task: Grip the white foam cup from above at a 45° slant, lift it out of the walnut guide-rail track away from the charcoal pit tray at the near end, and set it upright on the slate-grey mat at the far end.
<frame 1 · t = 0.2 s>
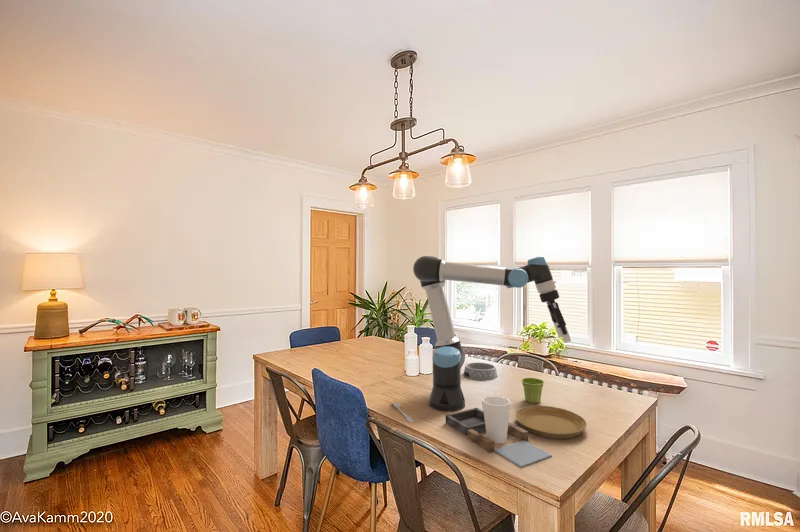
hand: (564, 339, 155), 27 cm above the table, tool tilted 20°, fingers open, 13 cm apart
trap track: (496, 439, 124), on the table
dog bowl: (480, 376, 198), on the table
plant pot: (532, 401, 160), on the table
foam cup: (496, 439, 124), on the table
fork: (401, 413, 148), on the table
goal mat: (522, 453, 114), on the table
plant saucer: (549, 427, 134), on the table
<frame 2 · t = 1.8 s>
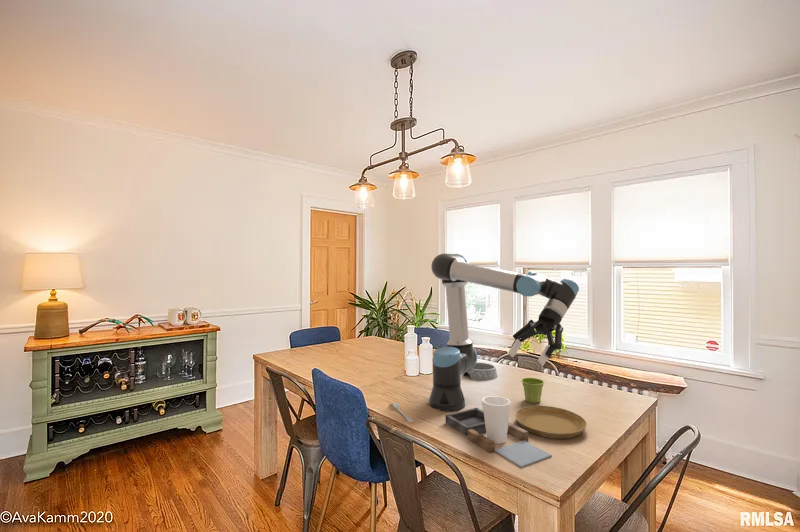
hand: (524, 359, 131), 25 cm above the table, tool tilted 45°, fingers open, 13 cm apart
nothing on the table moved.
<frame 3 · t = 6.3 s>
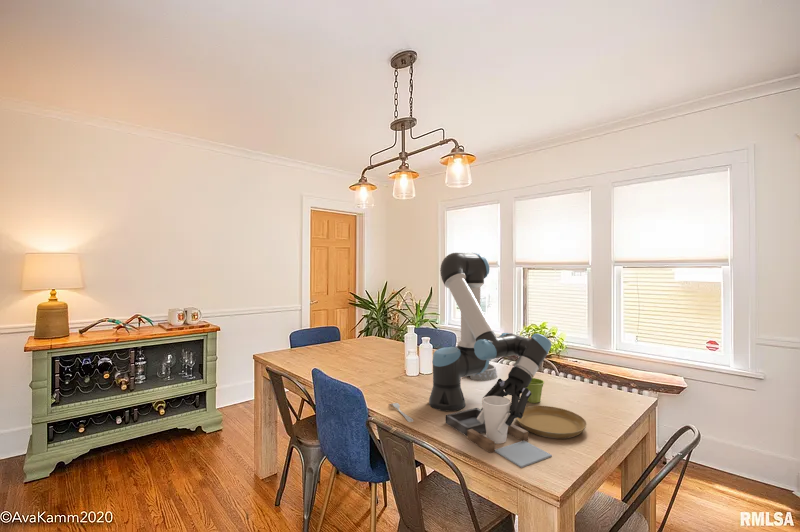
hand: (489, 426, 123), 5 cm above the table, tool tilted 45°, fingers closed on foam cup, 9 cm apart
foam cup: (496, 439, 124), on the table, touching gripper
everything else where it was.
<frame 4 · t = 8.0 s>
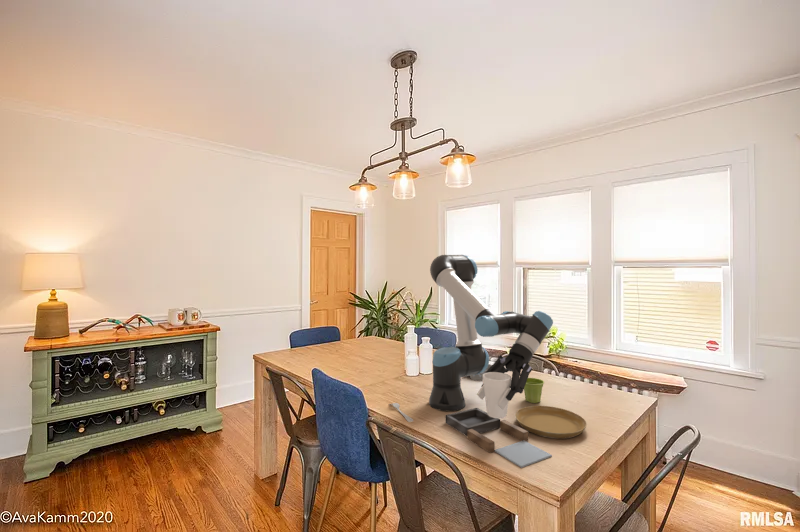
hand: (489, 401, 123), 13 cm above the table, tool tilted 45°, fingers closed on foam cup, 9 cm apart
foam cup: (496, 415, 124), point 8 cm above the table, touching gripper
everything else where it was.
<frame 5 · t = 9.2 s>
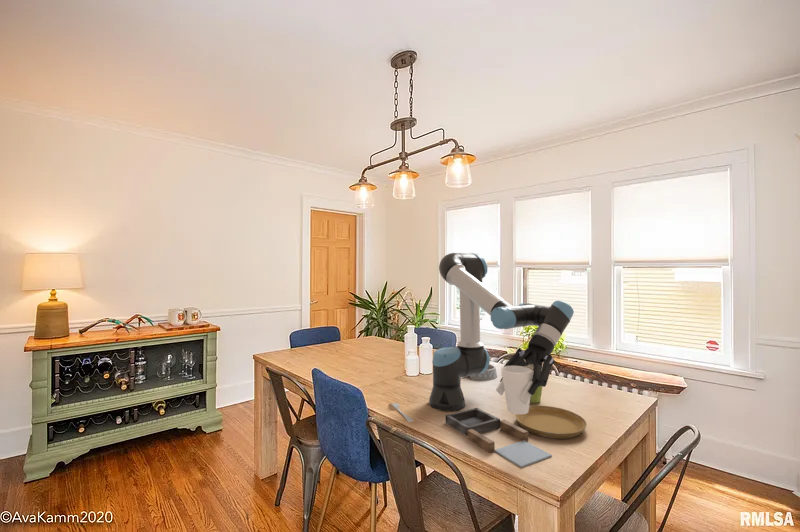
hand: (510, 397, 115), 18 cm above the table, tool tilted 45°, fingers closed on foam cup, 9 cm apart
foam cup: (517, 411, 116), point 13 cm above the table, touching gripper
everything else where it was.
when the fingers open (6 cm above the table, at t = 12.3 s): foam cup stays where it is, resting on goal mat.
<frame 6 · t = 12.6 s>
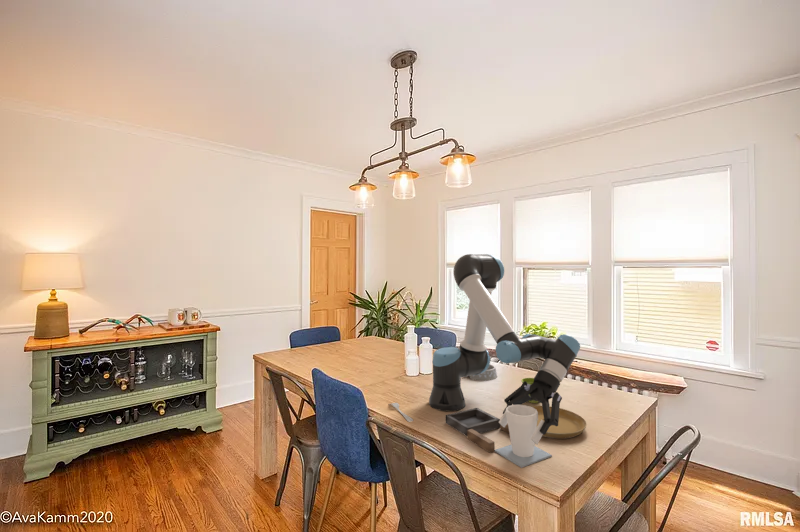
hand: (516, 433, 113), 7 cm above the table, tool tilted 45°, fingers open, 12 cm apart
foam cup: (522, 452, 114), resting on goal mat
everything else where it was.
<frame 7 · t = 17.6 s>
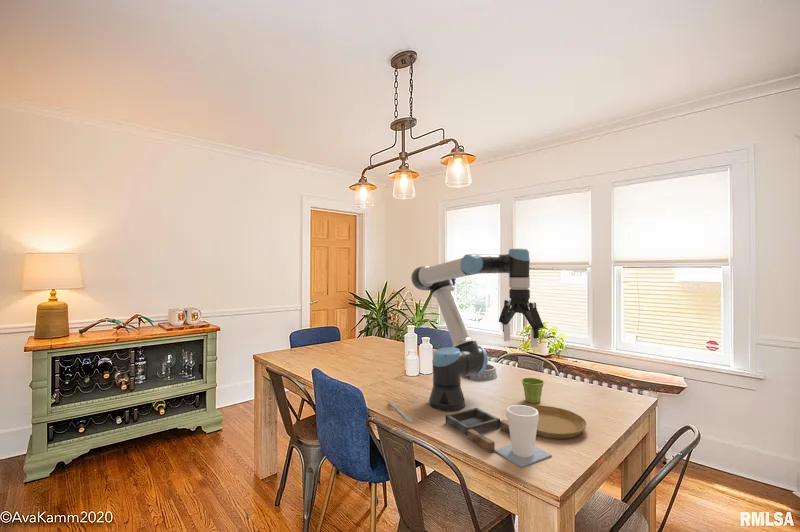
hand: (520, 343, 141), 29 cm above the table, tool pointing down, fingers open, 13 cm apart
at the end: foam cup inside the target area on the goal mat (0.1 cm from its centre), point 0.3 cm above the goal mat's base; foam cup tilted 0°; the gripper is holding nothing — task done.
